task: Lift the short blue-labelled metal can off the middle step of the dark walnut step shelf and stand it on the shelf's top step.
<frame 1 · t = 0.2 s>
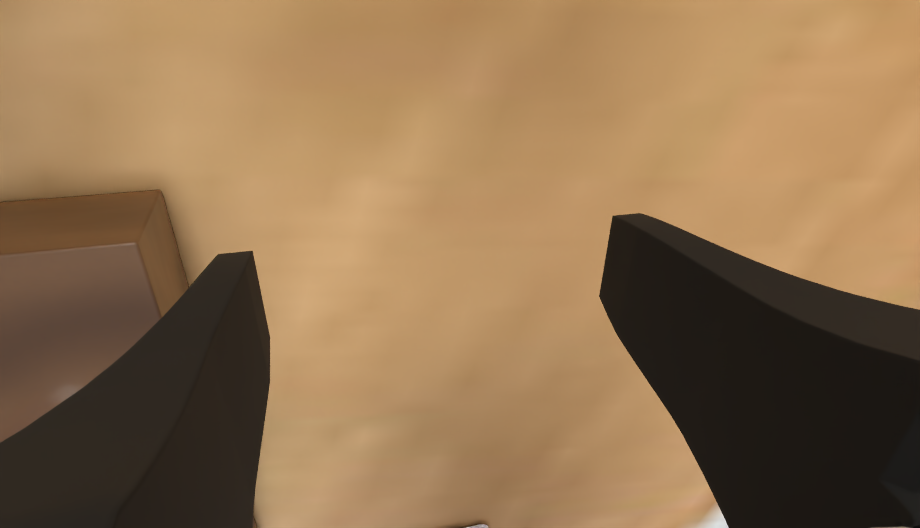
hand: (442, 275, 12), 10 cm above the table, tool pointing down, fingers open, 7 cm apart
step shelf: (61, 417, 24), on the table
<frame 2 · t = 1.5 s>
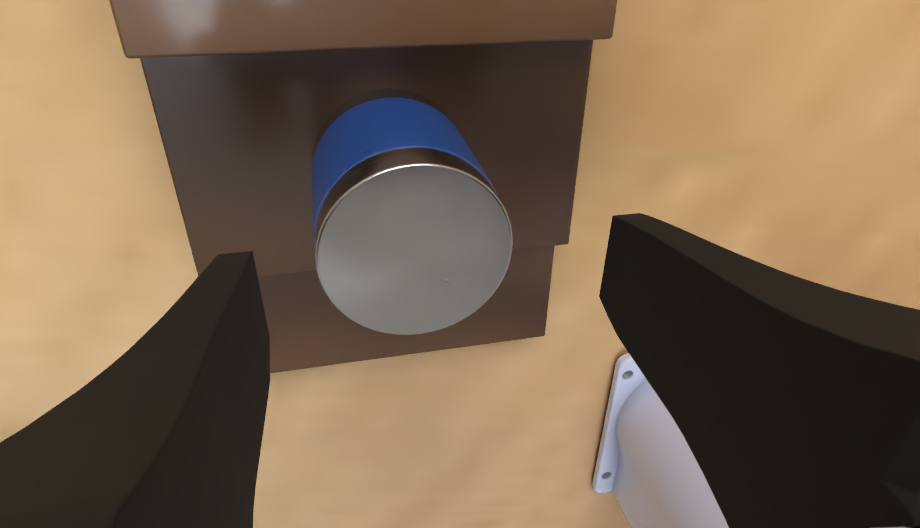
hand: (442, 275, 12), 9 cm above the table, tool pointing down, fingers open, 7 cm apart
step shelf: (378, 104, 19), on the table
can: (389, 162, 18), point 2 cm above the table, touching step shelf
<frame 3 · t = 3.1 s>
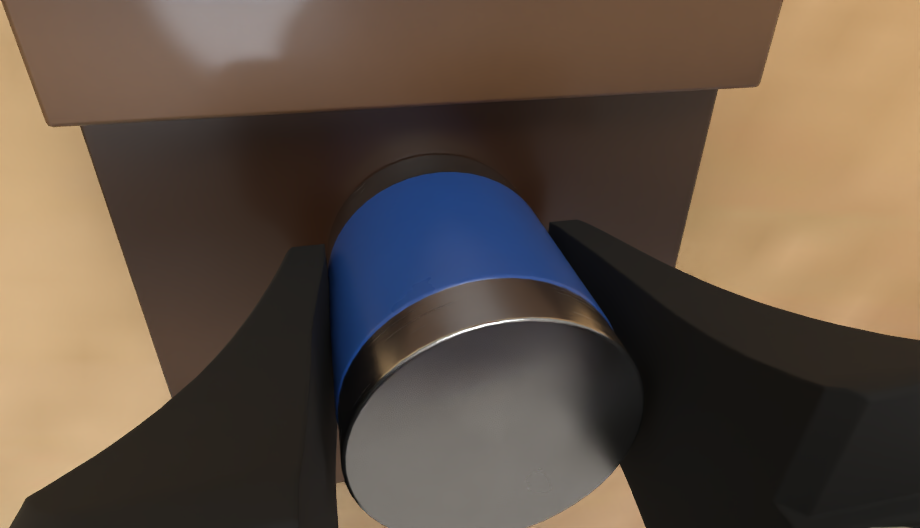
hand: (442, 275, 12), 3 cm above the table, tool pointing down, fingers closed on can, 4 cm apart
step shelf: (414, 162, 14), on the table
can: (432, 250, 13), point 2 cm above the table, touching gripper, step shelf
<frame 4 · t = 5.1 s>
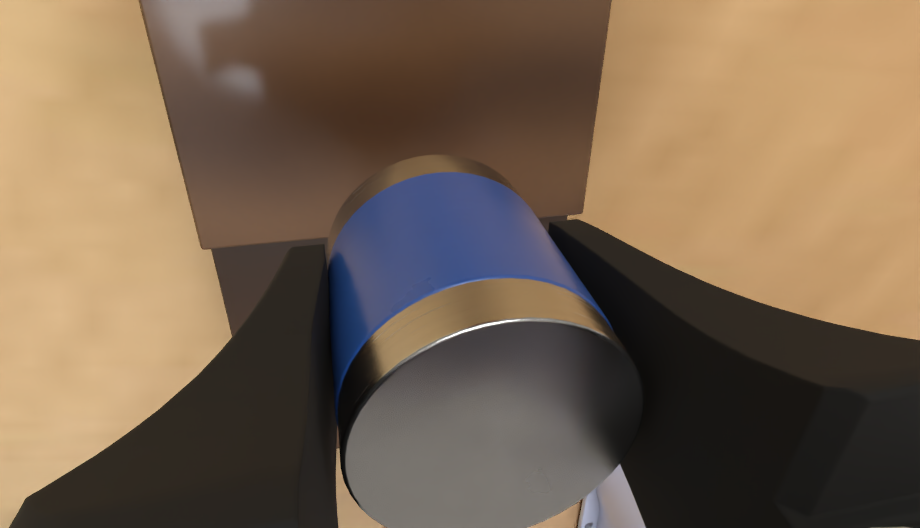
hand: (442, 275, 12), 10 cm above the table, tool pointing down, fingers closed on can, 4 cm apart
step shelf: (393, 243, 23), on the table
can: (431, 250, 13), point 9 cm above the table, touching gripper
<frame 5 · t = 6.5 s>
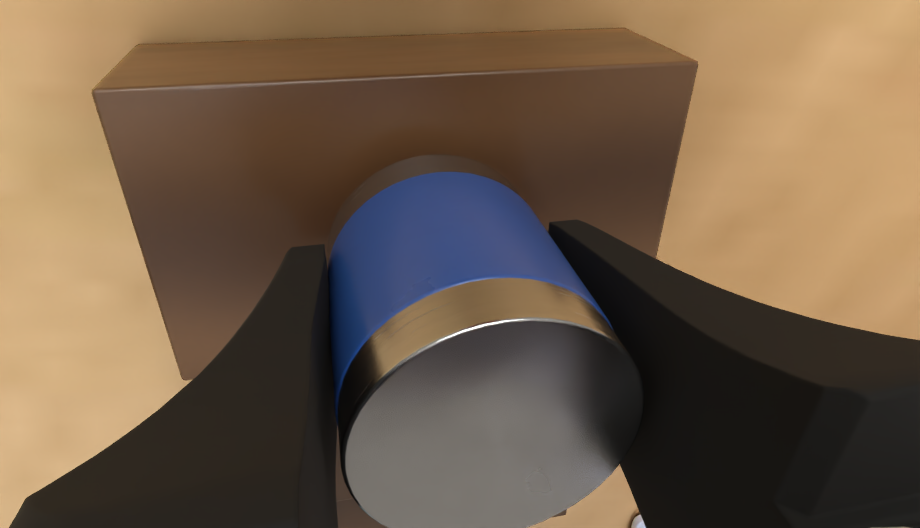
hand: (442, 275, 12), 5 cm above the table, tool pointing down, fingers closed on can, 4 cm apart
step shelf: (411, 337, 20), on the table
can: (432, 250, 13), point 4 cm above the table, touching gripper
when the fingers open (5 cm above the table, at t = 7.2 s): can stays where it is, resting on step shelf.
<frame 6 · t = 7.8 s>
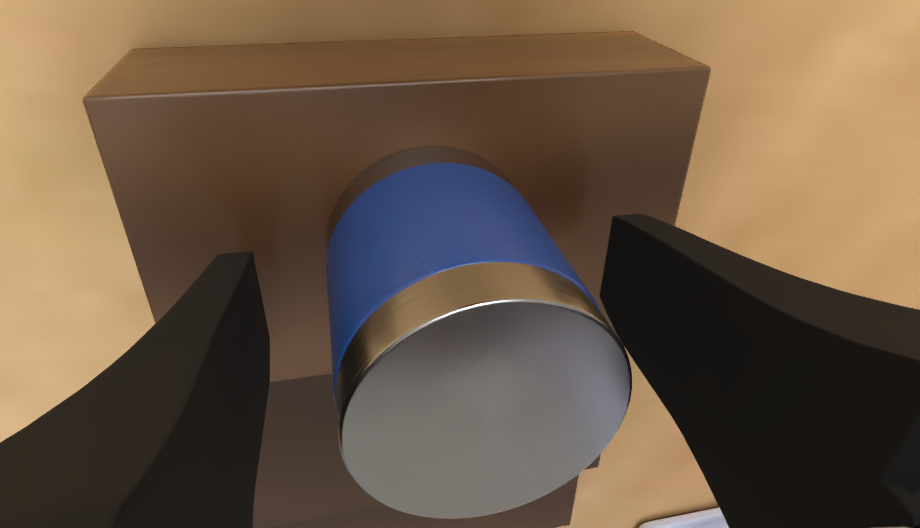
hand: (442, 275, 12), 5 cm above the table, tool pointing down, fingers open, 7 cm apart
step shelf: (413, 346, 19), on the table
can: (428, 240, 13), point 4 cm above the table, touching step shelf
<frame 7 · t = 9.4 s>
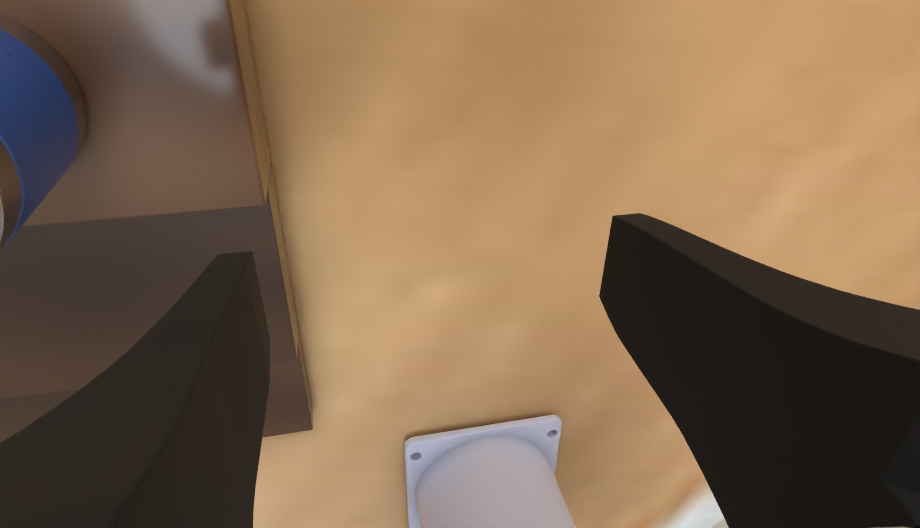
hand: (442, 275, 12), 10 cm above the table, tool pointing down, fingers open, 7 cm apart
step shelf: (103, 240, 21), on the table
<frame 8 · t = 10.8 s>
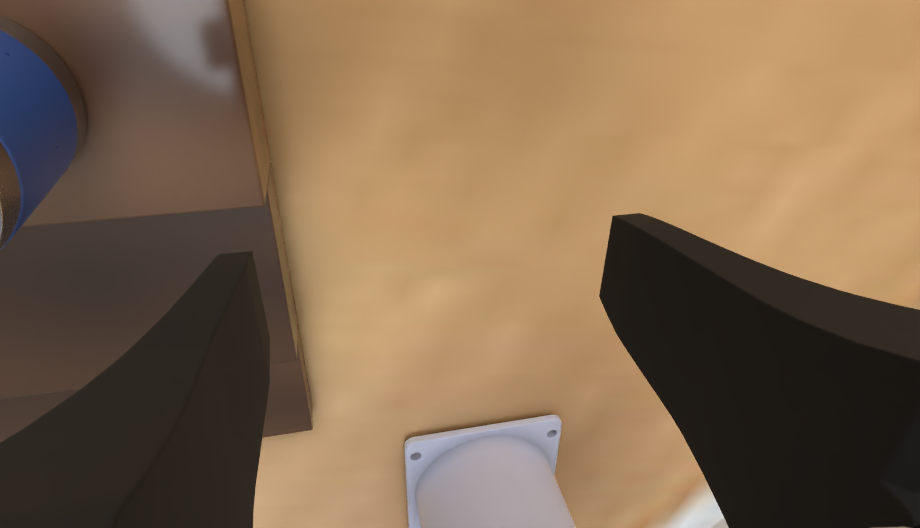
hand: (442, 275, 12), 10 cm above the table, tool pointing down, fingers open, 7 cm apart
step shelf: (103, 240, 21), on the table
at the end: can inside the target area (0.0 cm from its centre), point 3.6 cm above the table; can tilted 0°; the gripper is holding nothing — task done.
